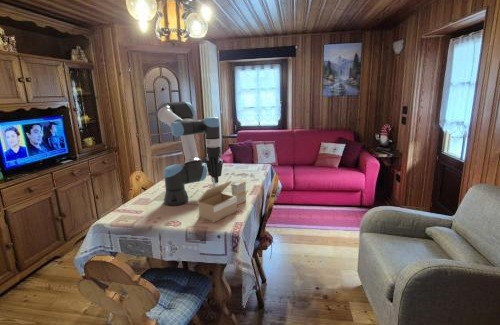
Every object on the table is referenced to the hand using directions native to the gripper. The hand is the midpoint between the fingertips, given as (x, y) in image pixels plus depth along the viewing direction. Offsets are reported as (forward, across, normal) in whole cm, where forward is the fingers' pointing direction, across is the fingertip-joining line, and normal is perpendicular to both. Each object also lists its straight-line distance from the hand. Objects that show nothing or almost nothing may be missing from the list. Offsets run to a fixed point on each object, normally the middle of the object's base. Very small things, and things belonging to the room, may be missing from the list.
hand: (215, 188), depth 157 cm
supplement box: (+16, -1, +20) cm, 25 cm away
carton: (+15, +1, 0) cm, 15 cm away
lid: (+2, 0, 0) cm, 2 cm away
